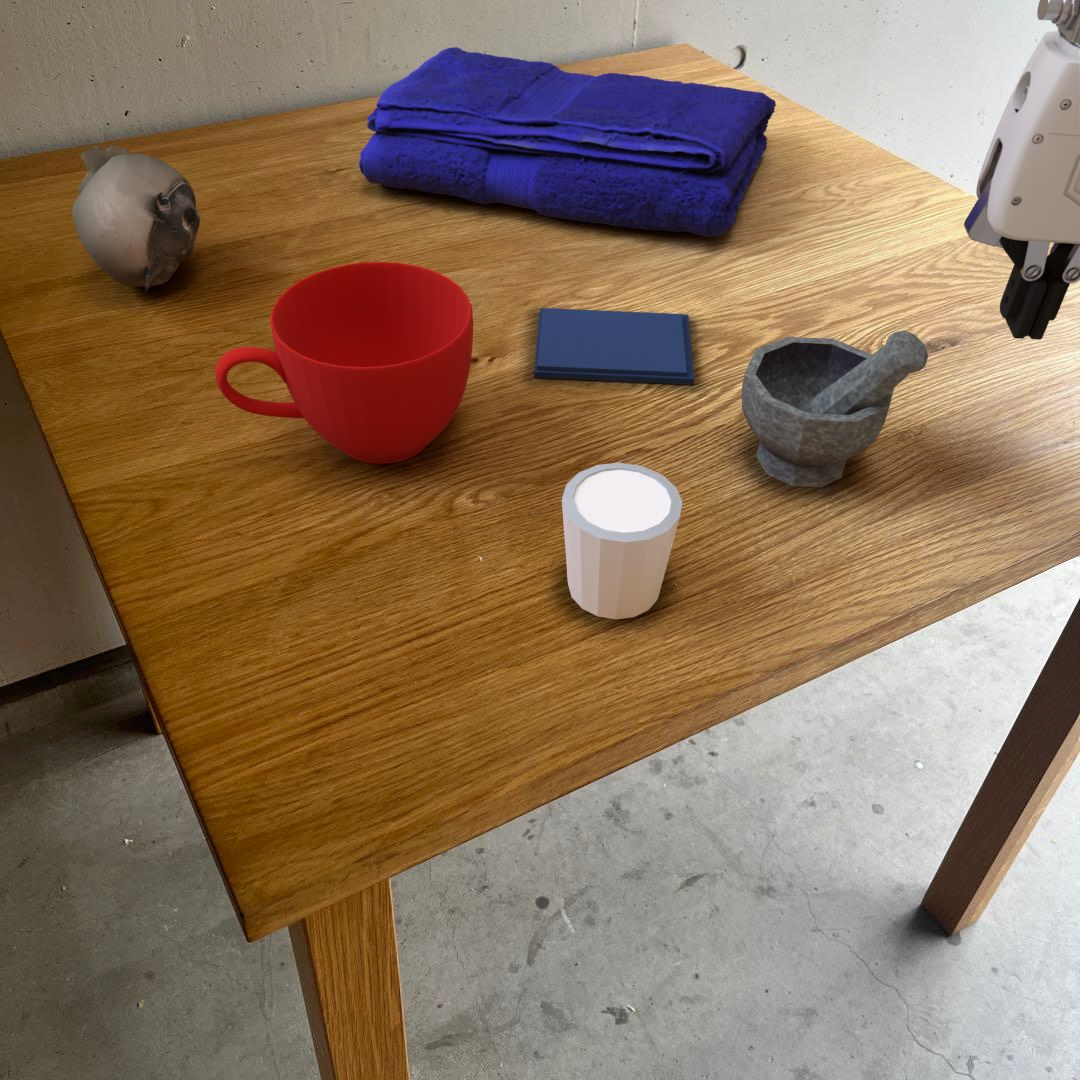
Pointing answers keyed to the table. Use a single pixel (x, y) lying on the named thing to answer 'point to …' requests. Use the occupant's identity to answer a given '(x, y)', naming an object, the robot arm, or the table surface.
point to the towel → (570, 142)
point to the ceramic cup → (367, 357)
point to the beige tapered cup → (618, 537)
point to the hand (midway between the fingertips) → (1021, 326)
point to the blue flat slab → (614, 346)
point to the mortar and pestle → (822, 402)
